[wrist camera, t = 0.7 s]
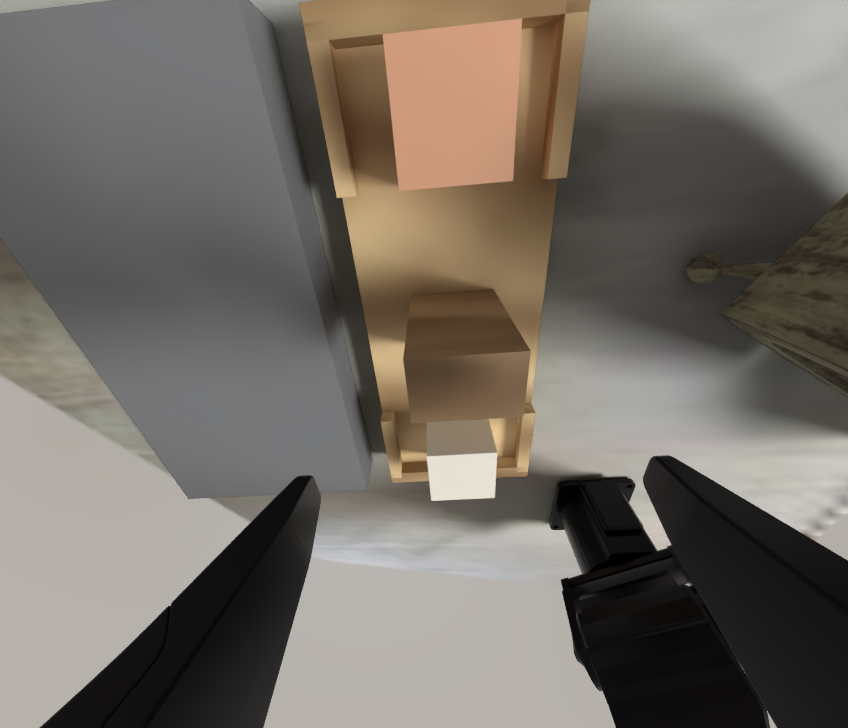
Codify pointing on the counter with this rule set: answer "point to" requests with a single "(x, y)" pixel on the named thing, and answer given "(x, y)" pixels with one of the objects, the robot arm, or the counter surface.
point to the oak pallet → (448, 223)
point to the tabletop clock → (796, 298)
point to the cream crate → (461, 460)
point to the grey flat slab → (181, 236)
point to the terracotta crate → (454, 103)
